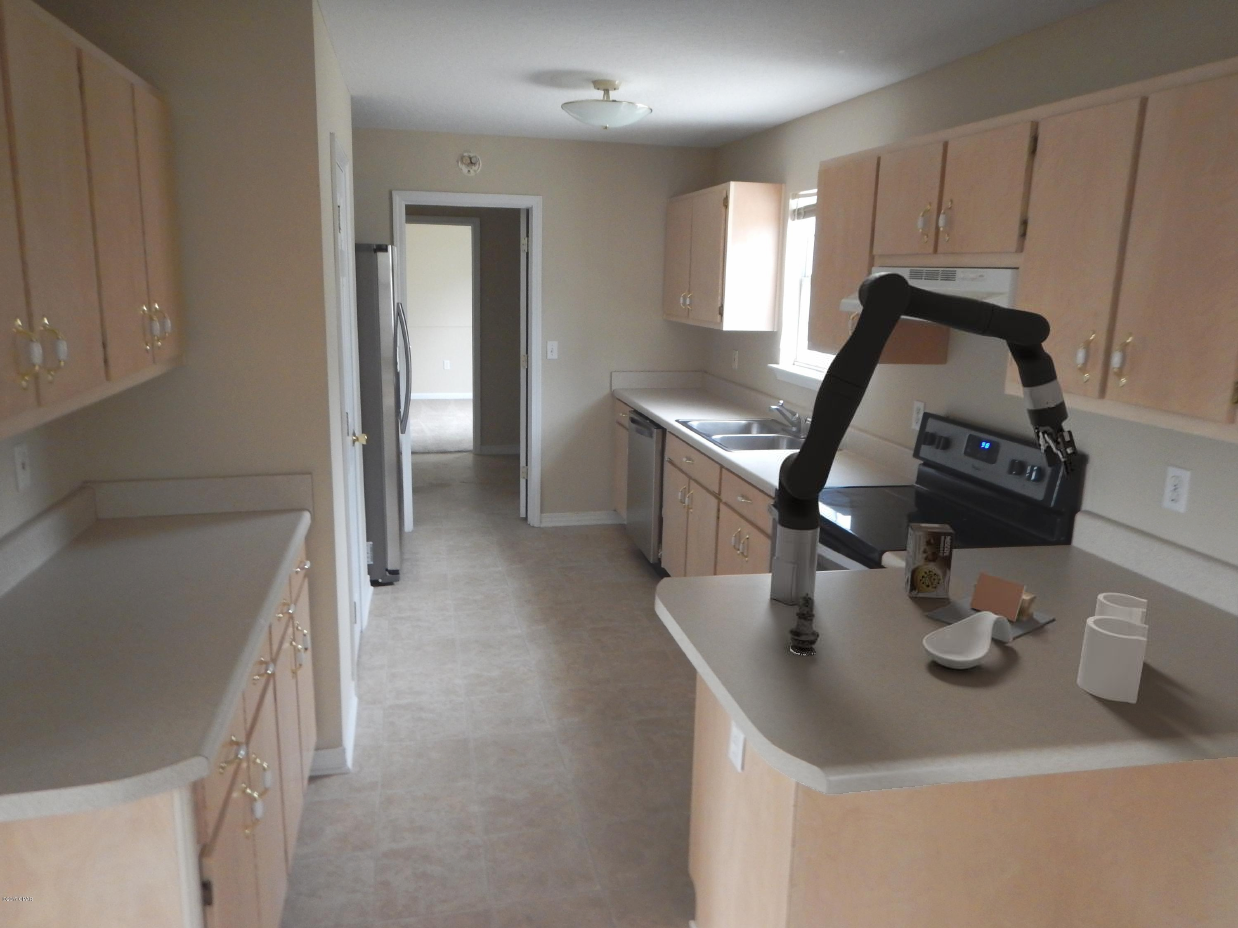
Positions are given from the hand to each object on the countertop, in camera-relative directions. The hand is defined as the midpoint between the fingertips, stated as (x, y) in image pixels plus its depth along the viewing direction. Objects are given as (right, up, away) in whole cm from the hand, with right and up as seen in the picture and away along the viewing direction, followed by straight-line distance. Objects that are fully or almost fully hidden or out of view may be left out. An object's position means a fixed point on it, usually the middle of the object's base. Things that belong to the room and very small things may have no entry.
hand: (1062, 470), depth 195 cm
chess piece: (-61, -35, -21) cm, 74 cm away
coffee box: (-26, -29, +13) cm, 41 cm away
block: (-12, -31, +2) cm, 34 cm away
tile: (-15, -28, -1) cm, 31 cm away
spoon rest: (-29, -36, -21) cm, 51 cm away
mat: (-16, -32, -1) cm, 36 cm away
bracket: (-4, -38, -27) cm, 47 cm away
